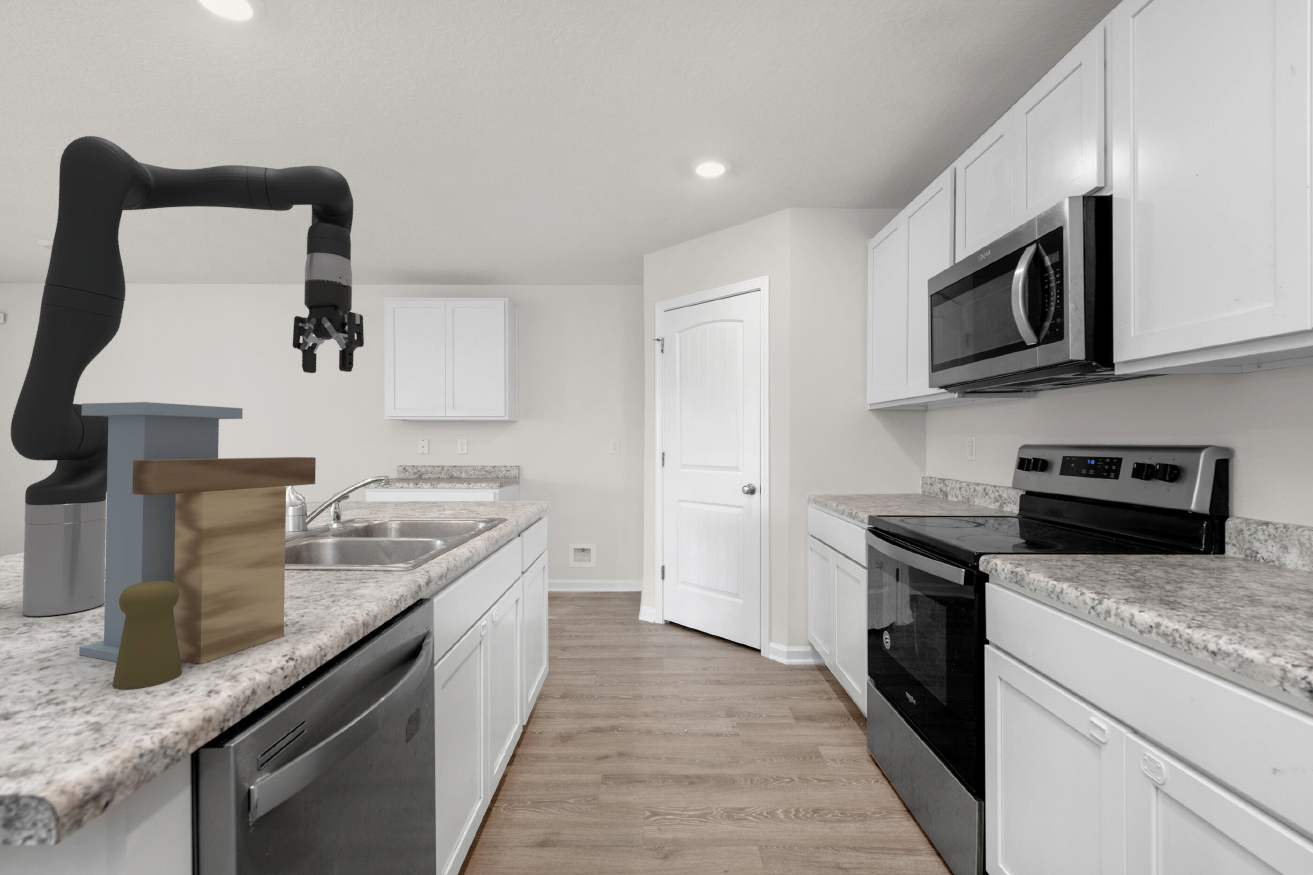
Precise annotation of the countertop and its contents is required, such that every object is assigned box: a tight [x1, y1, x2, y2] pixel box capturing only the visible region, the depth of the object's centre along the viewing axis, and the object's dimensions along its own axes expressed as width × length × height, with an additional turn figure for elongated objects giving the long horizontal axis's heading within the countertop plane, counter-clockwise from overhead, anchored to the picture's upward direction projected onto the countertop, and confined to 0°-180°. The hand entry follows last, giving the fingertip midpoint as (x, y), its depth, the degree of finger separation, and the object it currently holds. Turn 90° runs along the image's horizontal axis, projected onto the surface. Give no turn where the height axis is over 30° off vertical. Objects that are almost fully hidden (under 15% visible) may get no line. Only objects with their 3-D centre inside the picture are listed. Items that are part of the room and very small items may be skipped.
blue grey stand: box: [78, 401, 244, 663], centre depth 78 cm, size 12×12×32 cm
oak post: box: [174, 486, 287, 665], centre depth 77 cm, size 5×11×21 cm, turn 162°
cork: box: [112, 581, 183, 691], centre depth 67 cm, size 6×6×11 cm
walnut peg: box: [132, 456, 317, 495], centre depth 77 cm, size 4×21×4 cm, turn 161°
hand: (327, 372), depth 106 cm, fingers open, 8 cm apart
